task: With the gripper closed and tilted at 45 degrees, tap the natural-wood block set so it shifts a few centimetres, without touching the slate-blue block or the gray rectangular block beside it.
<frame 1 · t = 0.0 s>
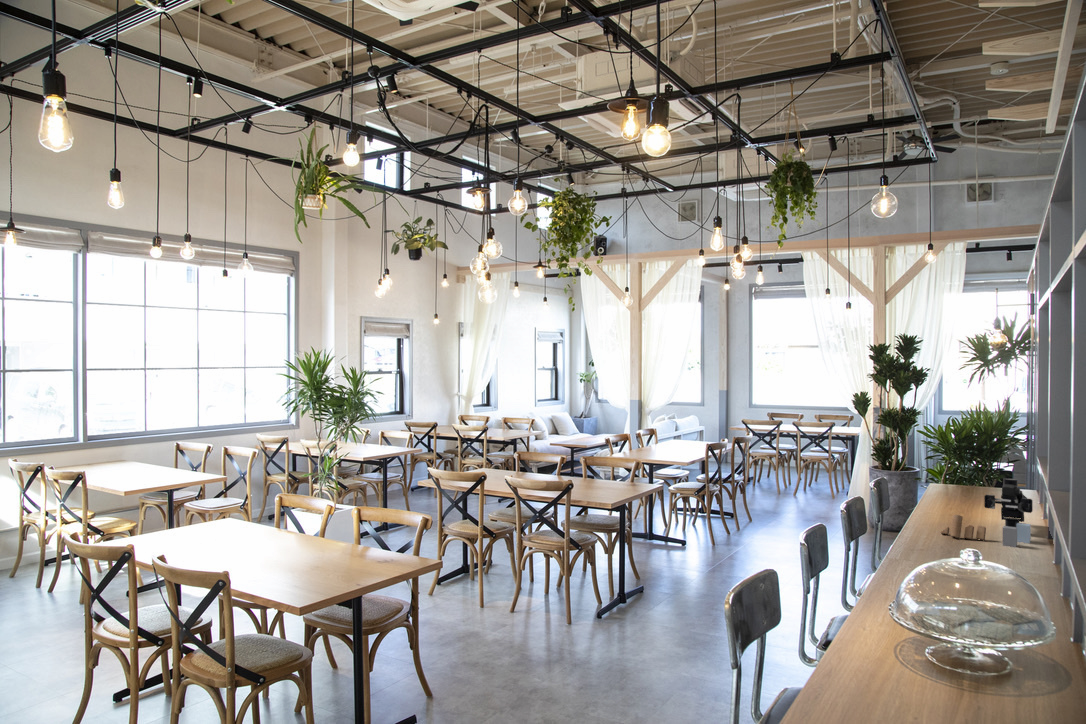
hand: (1006, 505, 327), 17 cm above the counter, tool horizontal, fingers open, 9 cm apart
wooden block set: (962, 539, 335), on the counter
gray rectangular block: (1009, 545, 321), on the counter
slate blue block: (1023, 541, 329), on the counter
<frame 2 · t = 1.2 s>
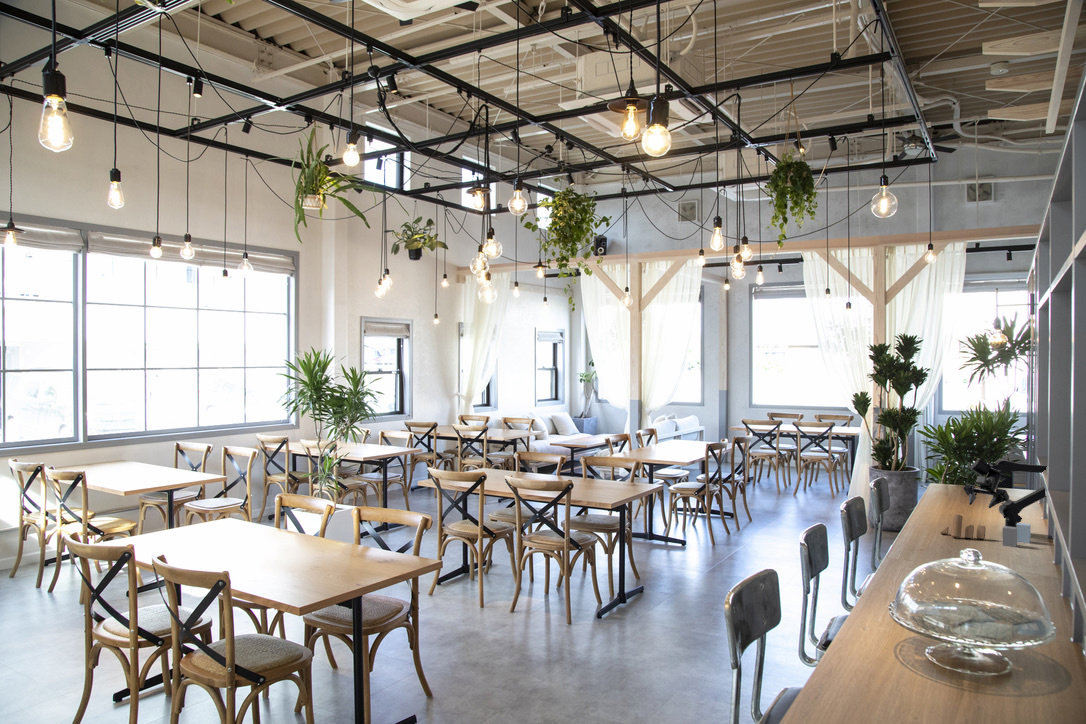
hand: (979, 506, 342), 14 cm above the counter, tool tilted 45°, fingers open, 8 cm apart
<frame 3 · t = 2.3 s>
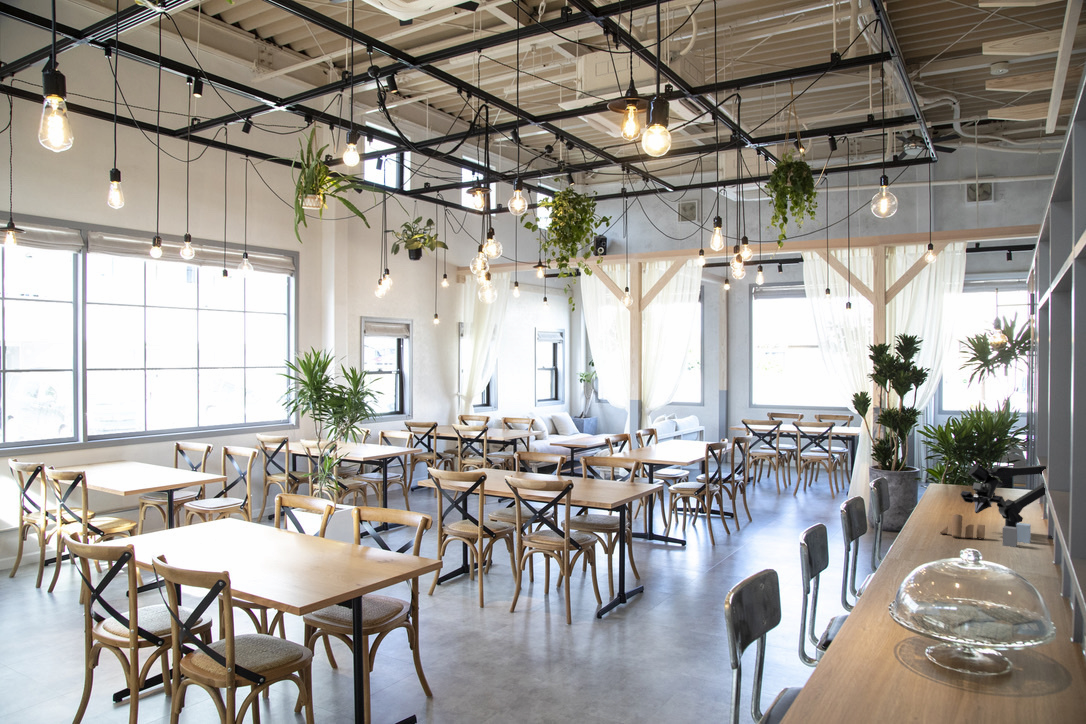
hand: (976, 512, 342), 11 cm above the counter, tool tilted 45°, fingers closed
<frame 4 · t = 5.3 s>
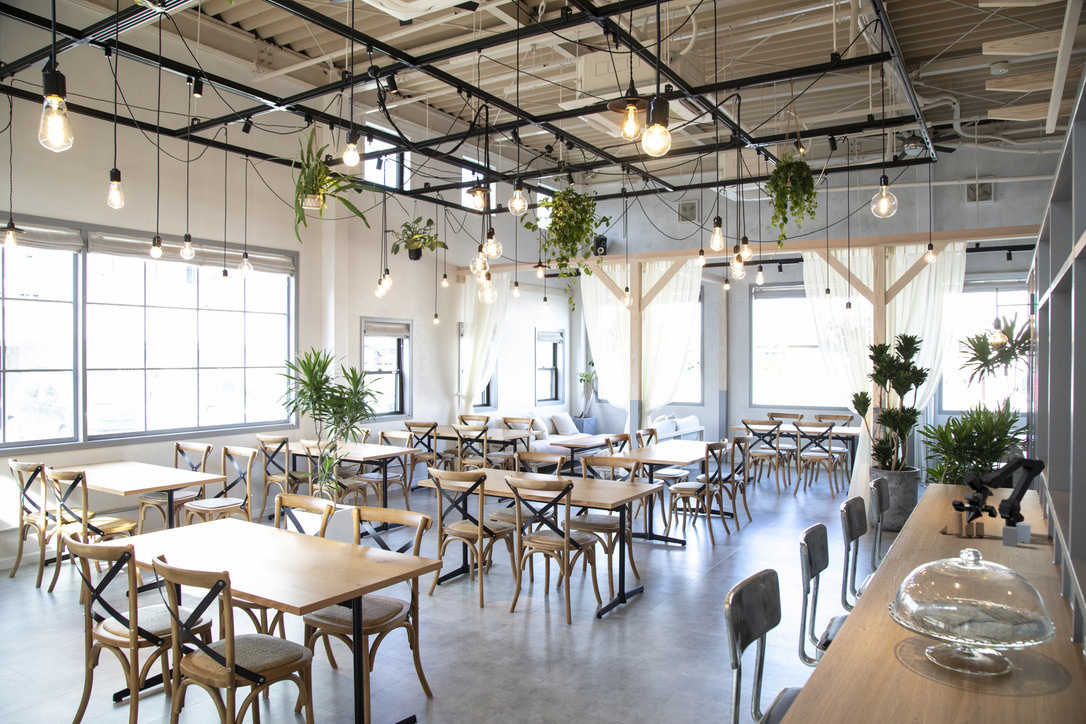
hand: (967, 522, 337), 7 cm above the counter, tool tilted 45°, fingers closed
wooden block set: (962, 536, 339), on the counter, touching gripper
everything else where it was.
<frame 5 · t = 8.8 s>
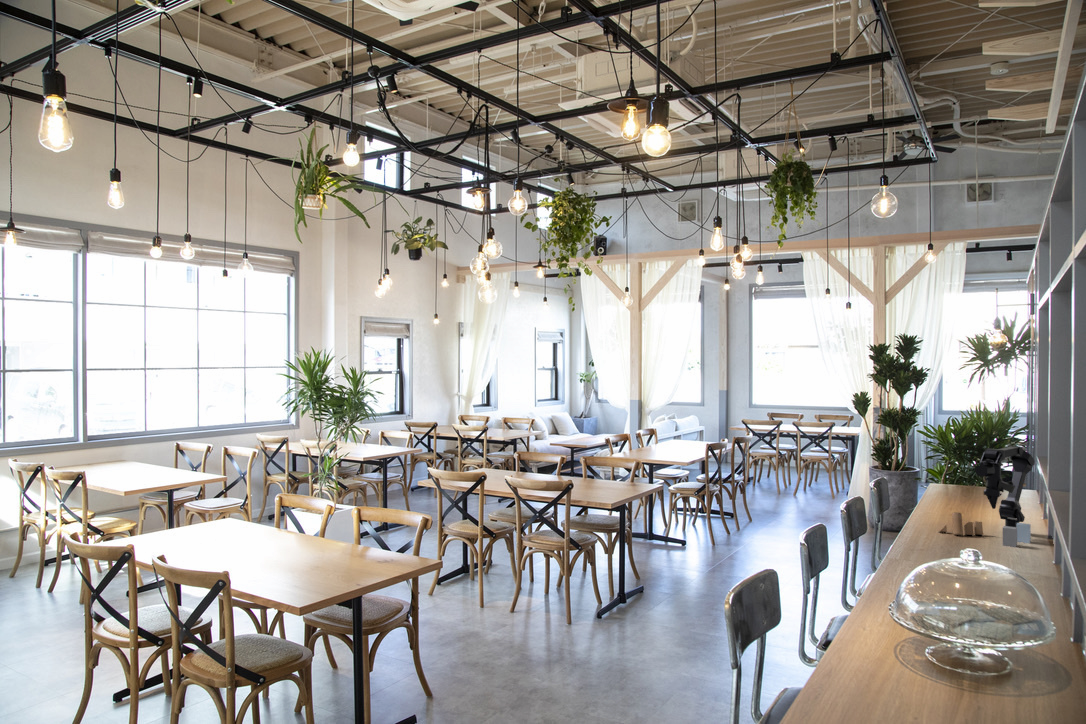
hand: (993, 508, 340), 13 cm above the counter, tool pointing down, fingers closed
wooden block set: (961, 535, 341), on the counter
everything else where it was.
at the end: wooden block set moved 8.1 cm from its start; slate blue block moved 0.1 cm from its start; gray rectangular block moved 0.1 cm from its start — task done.
